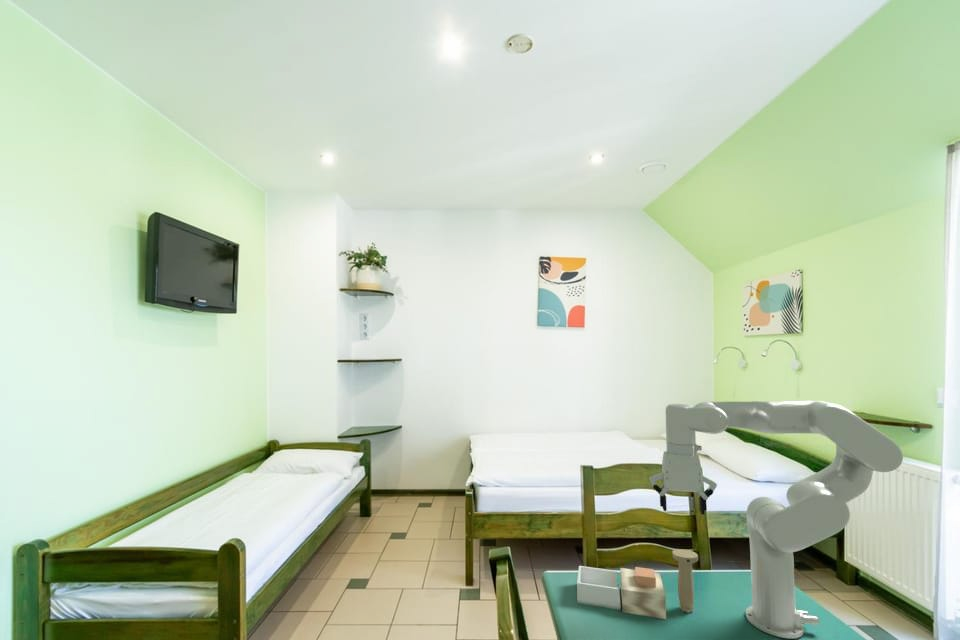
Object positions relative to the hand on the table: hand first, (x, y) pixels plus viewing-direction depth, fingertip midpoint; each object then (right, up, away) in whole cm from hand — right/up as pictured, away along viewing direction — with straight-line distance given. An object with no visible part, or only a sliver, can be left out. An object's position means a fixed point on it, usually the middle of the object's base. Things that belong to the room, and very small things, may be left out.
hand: (683, 511), depth 120 cm
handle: (0, -27, -2) cm, 27 cm away
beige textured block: (-11, -27, +1) cm, 29 cm away
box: (-22, -27, +5) cm, 35 cm away
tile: (-10, -21, +1) cm, 23 cm away
